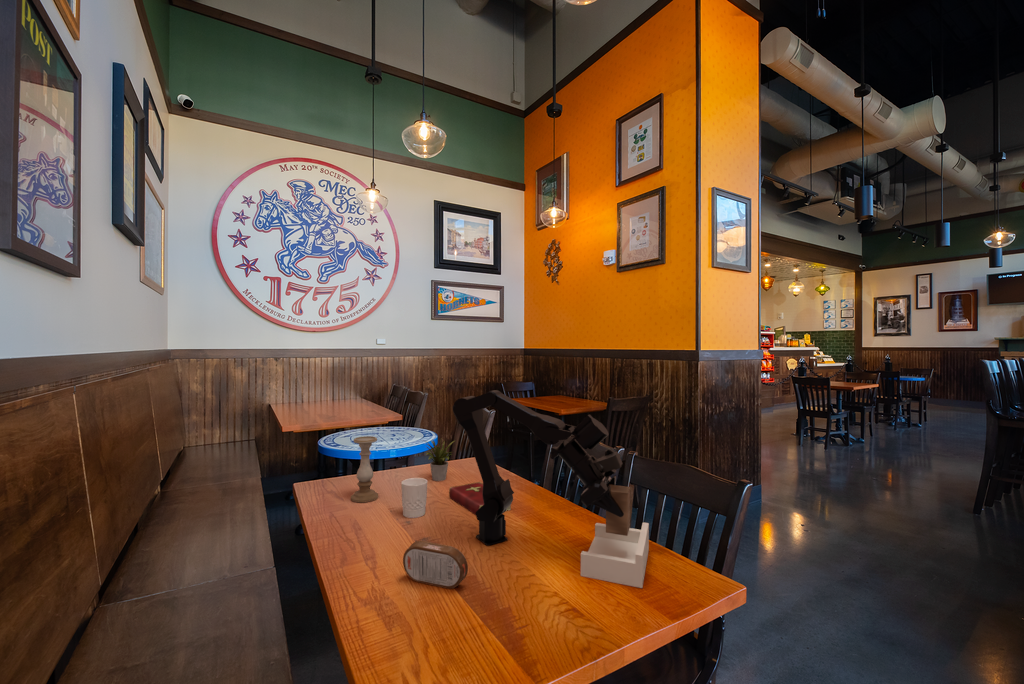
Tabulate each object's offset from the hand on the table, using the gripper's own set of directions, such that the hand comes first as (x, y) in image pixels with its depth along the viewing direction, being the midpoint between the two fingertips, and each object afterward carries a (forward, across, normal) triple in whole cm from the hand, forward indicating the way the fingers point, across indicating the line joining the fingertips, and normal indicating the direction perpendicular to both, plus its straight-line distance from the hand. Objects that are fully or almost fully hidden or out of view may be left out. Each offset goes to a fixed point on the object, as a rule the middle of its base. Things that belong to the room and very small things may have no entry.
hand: (623, 512), depth 106 cm
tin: (-17, -25, +36) cm, 47 cm away
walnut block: (+2, 0, +4) cm, 5 cm away
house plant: (-45, +40, +63) cm, 87 cm away
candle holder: (-52, +13, +71) cm, 89 cm away
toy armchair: (+8, 0, +10) cm, 13 cm away
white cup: (-36, +7, +54) cm, 66 cm away
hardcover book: (-25, +23, +44) cm, 56 cm away
